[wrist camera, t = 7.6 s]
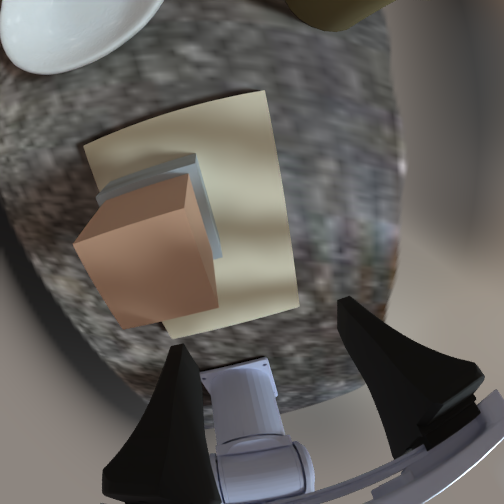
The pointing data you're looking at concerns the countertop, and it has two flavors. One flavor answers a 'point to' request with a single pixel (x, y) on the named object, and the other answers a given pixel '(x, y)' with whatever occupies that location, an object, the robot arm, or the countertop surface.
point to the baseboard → (215, 198)
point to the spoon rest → (68, 31)
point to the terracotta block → (150, 254)
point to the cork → (334, 12)
